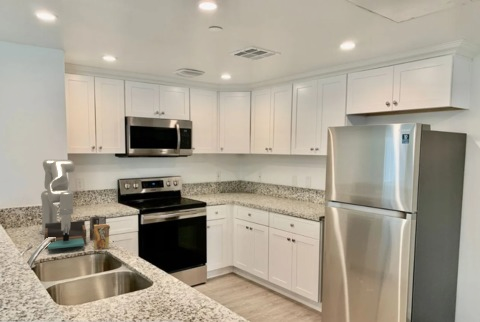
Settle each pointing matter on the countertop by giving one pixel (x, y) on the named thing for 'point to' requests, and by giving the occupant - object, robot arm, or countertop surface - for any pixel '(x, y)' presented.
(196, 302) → the countertop surface
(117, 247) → the countertop surface
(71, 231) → the hinged box
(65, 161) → the robot arm
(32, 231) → the countertop surface
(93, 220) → the coffee box
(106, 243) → the candy box
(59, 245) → the panel
